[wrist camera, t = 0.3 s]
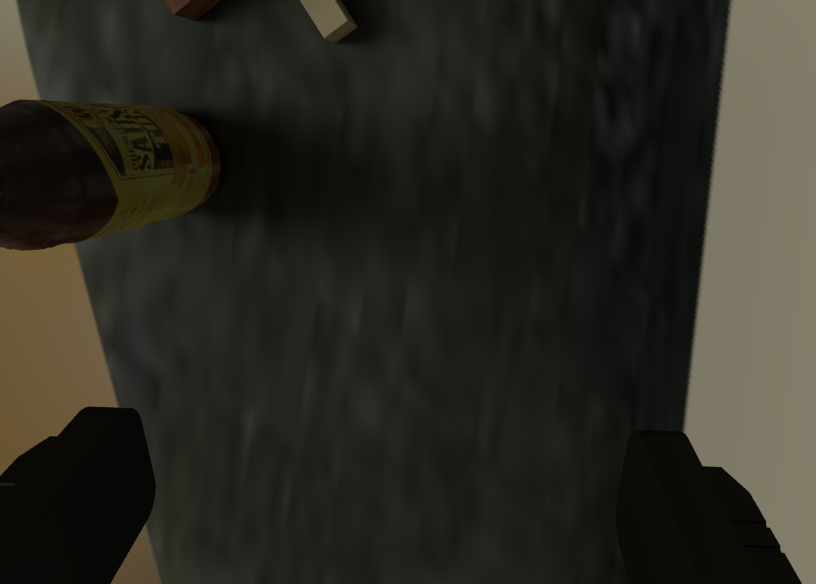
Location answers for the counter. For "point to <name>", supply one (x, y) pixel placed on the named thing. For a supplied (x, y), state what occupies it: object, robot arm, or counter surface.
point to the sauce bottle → (97, 170)
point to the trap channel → (319, 3)
